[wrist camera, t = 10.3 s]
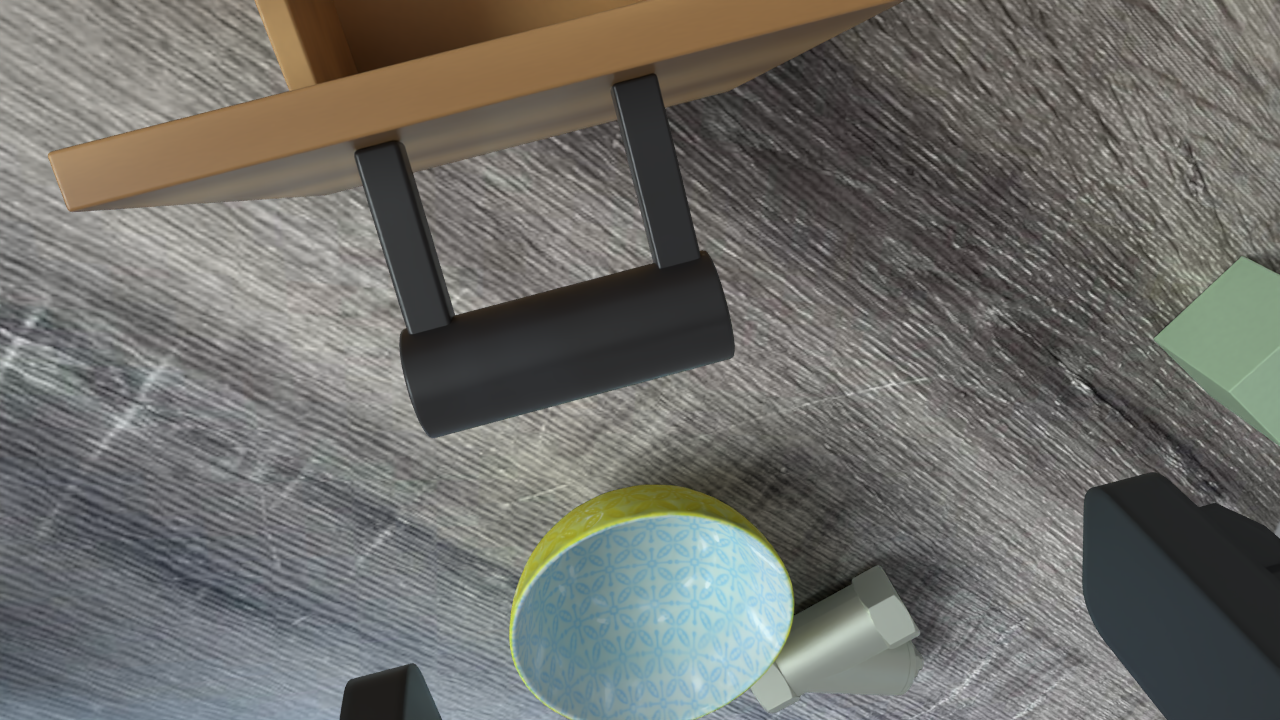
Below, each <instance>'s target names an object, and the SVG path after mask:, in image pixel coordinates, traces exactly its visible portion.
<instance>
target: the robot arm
mask: <svg viewBox="0 0 1280 720" xmlns="http://www.w3.org/2000/svg"><path fill="white" fill-rule="evenodd" d="M1082 585H1083V594H1084V599H1085V603H1086V606H1087V609H1088V612H1089V614H1090V617H1091V619H1092V621H1093V623H1094V625H1095V627H1096V629H1097V631H1098V632H1099V634H1100V636H1101V637H1102V638H1103V640H1104V641H1105V642H1106V644H1107V645H1108V646H1109V647H1110V649H1111V650H1112V651H1113V652H1114V654H1115V655H1116V656H1117V657H1118V659H1119V660H1120V661H1121V663H1122V664H1123V665H1124V666H1125V668H1126V669H1127V670H1128V671H1129V673H1130V674H1131V675H1132V676H1133V678H1134V679H1135V680H1136V681H1137V683H1138V684H1139V685H1140V686H1141V688H1142V689H1143V690H1144V692H1145V693H1146V694H1147V695H1148V697H1149V698H1150V699H1151V700H1152V702H1153V703H1154V704H1155V705H1156V707H1157V708H1158V709H1159V710H1160V712H1161V713H1162V714H1163V715H1164V717H1165V718H1166V719H1167V720H1280V538H1278V537H1277V536H1276V535H1275V534H1274V533H1273V532H1271V531H1270V530H1269V529H1268V528H1267V527H1266V526H1264V525H1262V524H1260V523H1258V522H1256V521H1253V520H1251V519H1249V518H1247V517H1245V516H1243V515H1241V514H1238V513H1236V512H1234V511H1232V510H1230V509H1228V508H1225V507H1223V506H1221V505H1219V504H1217V503H1213V504H1210V505H1206V506H1202V507H1198V506H1197V505H1196V504H1194V503H1193V502H1192V501H1191V500H1190V499H1189V498H1188V497H1187V496H1186V495H1185V494H1183V493H1182V492H1181V491H1180V490H1179V489H1178V488H1177V487H1176V486H1175V485H1174V484H1172V483H1171V482H1170V481H1169V480H1168V479H1167V478H1165V477H1164V476H1162V475H1161V474H1158V473H1155V472H1150V473H1147V474H1143V475H1139V476H1135V477H1131V478H1127V479H1124V480H1120V481H1116V482H1112V483H1108V484H1104V485H1101V486H1097V487H1093V488H1090V489H1089V490H1088V491H1087V493H1086V495H1085V499H1084V522H1083V576H1082ZM340 720H442V718H441V716H440V714H439V712H438V709H437V707H436V705H435V703H434V700H433V698H432V696H431V693H430V691H429V689H428V687H427V684H426V682H425V680H424V677H423V675H422V673H421V671H420V670H419V668H418V667H417V666H416V665H415V664H414V663H412V664H408V665H404V666H400V667H396V668H392V669H388V670H385V671H381V672H377V673H373V674H369V675H366V676H362V677H358V678H354V679H351V680H349V681H348V683H347V684H346V687H345V690H344V695H343V701H342V707H341V714H340Z"/></svg>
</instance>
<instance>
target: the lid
mask: <svg viewBox="0 0 1280 720" xmlns="http://www.w3.org/2000/svg"><path fill="white" fill-rule="evenodd" d="M903 1H905V0H646V1H642V2H638V3H634V4H630V5H627V6H623V7H619V8H615V9H611V10H607V11H603V12H599V13H595V14H591V15H587V16H583V17H579V18H575V19H571V20H567V21H563V22H560V23H556V24H552V25H548V26H544V27H540V28H536V29H532V30H528V31H524V32H520V33H516V34H512V35H508V36H504V37H500V38H497V39H493V40H489V41H485V42H481V43H477V44H473V45H469V46H465V47H461V48H457V49H453V50H449V51H445V52H441V53H437V54H434V55H430V56H426V57H422V58H418V59H414V60H410V61H406V62H402V63H398V64H394V65H390V66H386V67H382V68H378V69H374V70H370V71H367V72H363V73H359V74H355V75H351V76H347V77H343V78H339V79H335V80H331V81H327V82H323V83H319V84H315V85H311V86H307V87H304V88H300V89H296V90H292V91H288V92H284V93H280V94H276V95H272V96H268V97H264V98H260V99H256V100H252V101H248V102H244V103H241V104H237V105H233V106H229V107H225V108H221V109H217V110H213V111H209V112H205V113H201V114H197V115H193V116H189V117H185V118H181V119H177V120H174V121H170V122H166V123H162V124H158V125H154V126H150V127H146V128H142V129H138V130H134V131H130V132H126V133H122V134H118V135H114V136H111V137H107V138H103V139H99V140H95V141H91V142H87V143H83V144H79V145H75V146H71V147H67V148H63V149H59V150H55V151H51V152H50V153H49V154H48V158H49V161H50V163H51V166H52V169H53V171H54V174H55V177H56V180H57V182H58V185H59V188H60V190H61V193H62V196H63V198H64V201H65V204H66V207H67V209H68V210H69V211H70V212H81V211H96V210H111V209H126V208H141V207H156V206H171V205H186V204H201V203H217V202H232V201H247V200H262V199H277V198H292V197H307V196H322V195H329V194H333V193H336V192H340V191H344V190H348V189H352V188H356V187H360V186H363V188H364V191H365V194H366V198H367V201H368V204H369V207H370V211H371V214H372V217H373V220H374V224H375V227H376V230H377V233H378V237H379V240H380V243H381V246H382V250H383V253H384V256H385V259H386V263H387V266H388V269H389V273H390V276H391V279H392V282H393V286H394V289H395V292H396V295H397V299H398V302H399V305H400V308H401V312H402V315H403V318H404V321H405V325H406V329H404V330H402V332H401V334H400V344H399V346H400V357H401V364H402V369H403V374H404V378H405V382H406V386H407V390H408V393H409V396H410V399H411V402H412V405H413V408H414V411H415V413H416V415H417V418H418V420H419V422H420V424H421V426H422V428H423V429H424V431H425V432H426V434H427V435H428V436H429V437H431V438H437V437H440V436H444V435H448V434H451V433H455V432H459V431H463V430H466V429H470V428H474V427H478V426H481V425H485V424H489V423H493V422H496V421H500V420H504V419H507V418H511V417H515V416H519V415H522V414H526V413H530V412H534V411H537V410H541V409H545V408H548V407H552V406H556V405H560V404H563V403H567V402H571V401H575V400H578V399H582V398H586V397H590V396H593V395H597V394H601V393H604V392H608V391H612V390H616V389H619V388H623V387H627V386H631V385H634V384H638V383H642V382H645V381H649V380H653V379H657V378H660V377H664V376H668V375H672V374H675V373H679V372H683V371H687V370H690V369H694V368H698V367H701V366H705V365H709V364H713V363H716V362H720V361H724V360H728V359H731V358H732V357H733V356H734V351H735V345H734V336H733V329H732V324H731V319H730V315H729V310H728V306H727V302H726V299H725V295H724V292H723V288H722V285H721V282H720V279H719V276H718V273H717V270H716V268H715V265H714V263H713V261H712V259H711V257H710V255H709V254H708V253H707V251H703V250H701V251H699V247H698V243H697V238H696V234H695V230H694V226H693V222H692V218H691V214H690V209H689V205H688V201H687V197H686V193H685V189H684V185H683V180H682V176H681V172H680V168H679V164H678V160H677V156H676V151H675V147H674V143H673V139H672V135H671V131H670V127H669V122H668V118H667V114H666V110H665V108H666V107H670V106H674V105H677V104H681V103H685V102H689V101H693V100H697V99H701V98H705V97H708V96H712V95H716V94H720V93H724V92H728V91H730V90H732V89H734V88H736V87H738V86H740V85H742V84H744V83H746V82H748V81H749V80H751V79H753V78H755V77H757V76H759V75H761V74H763V73H765V72H767V71H769V70H771V69H773V68H775V67H777V66H779V65H781V64H782V63H784V62H786V61H788V60H790V59H792V58H794V57H796V56H798V55H800V54H802V53H804V52H806V51H808V50H810V49H812V48H814V47H815V46H817V45H819V44H821V43H823V42H825V41H827V40H829V39H831V38H833V37H835V36H837V35H839V34H841V33H843V32H845V31H847V30H848V29H850V28H852V27H854V26H856V25H858V24H860V23H862V22H864V21H866V20H868V19H870V18H872V17H874V16H876V15H878V14H880V13H881V12H883V11H885V10H887V9H889V8H891V7H893V6H895V5H897V4H899V3H901V2H903ZM615 120H618V124H619V128H620V132H621V136H622V140H623V144H624V148H625V152H626V156H627V160H628V163H629V167H630V171H631V175H632V179H633V183H634V187H635V191H636V195H637V199H638V203H639V207H640V211H641V215H642V219H643V223H644V227H645V231H646V235H647V239H648V243H649V247H650V251H651V255H652V259H653V263H652V264H648V265H645V266H641V267H637V268H633V269H629V270H626V271H622V272H618V273H614V274H610V275H607V276H603V277H599V278H595V279H591V280H588V281H584V282H580V283H576V284H573V285H569V286H565V287H561V288H557V289H554V290H550V291H546V292H542V293H538V294H535V295H531V296H527V297H523V298H519V299H516V300H512V301H508V302H504V303H500V304H497V305H493V306H489V307H485V308H482V309H478V310H474V311H470V312H466V313H463V314H459V315H455V314H454V310H453V307H452V303H451V300H450V297H449V293H448V290H447V287H446V283H445V280H444V276H443V273H442V270H441V266H440V263H439V259H438V256H437V253H436V249H435V246H434V243H433V239H432V236H431V232H430V229H429V226H428V222H427V219H426V216H425V212H424V209H423V205H422V202H421V199H420V195H419V192H418V189H417V185H416V182H415V178H414V175H413V173H414V172H418V171H422V170H426V169H429V168H433V167H437V166H441V165H445V164H449V163H453V162H457V161H460V160H464V159H468V158H472V157H476V156H480V155H484V154H488V153H491V152H495V151H499V150H503V149H507V148H511V147H515V146H519V145H522V144H526V143H530V142H534V141H538V140H542V139H546V138H550V137H553V136H557V135H561V134H565V133H569V132H573V131H577V130H581V129H584V128H588V127H592V126H596V125H600V124H604V123H608V122H612V121H615Z"/></svg>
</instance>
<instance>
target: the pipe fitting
mask: <svg viewBox="0 0 1280 720" xmlns="http://www.w3.org/2000/svg"><path fill="white" fill-rule="evenodd" d="M919 635H920V631H919V629H918V627H917V626H916V624H915V622H914V620H913V619H912V617H911V615H910V614H909V612H908V610H907V608H906V607H905V605H904V603H903V602H902V600H901V598H900V597H899V595H898V593H897V592H896V590H895V588H894V587H893V585H892V583H891V582H890V580H889V578H888V577H887V575H886V573H885V572H884V570H883V568H882V567H881V566H878V565H876V566H875V567H873V568H871V569H869V570H867V571H866V572H864V573H862V574H860V575H858V576H856V577H855V578H853V579H852V584H851V585H849V586H848V587H846V588H844V589H842V590H840V591H838V592H837V593H835V594H833V595H831V596H829V597H827V598H826V599H824V600H822V601H820V602H818V603H817V604H815V605H813V606H811V607H809V608H807V609H806V610H804V611H802V612H800V613H798V614H797V615H795V616H794V617H793V622H792V627H791V630H790V634H789V636H788V638H787V641H786V643H785V645H784V647H783V649H782V651H781V652H780V654H779V655H778V657H777V659H776V660H775V662H774V663H773V664H772V666H771V667H770V668H769V669H768V670H767V672H766V673H765V674H764V675H763V676H762V677H761V678H760V679H759V680H758V681H757V682H756V683H755V684H754V685H753V686H752V687H750V688H751V690H752V692H753V694H754V695H755V697H756V699H757V700H758V702H759V703H760V704H761V706H762V707H763V708H764V709H765V711H766V712H768V713H776V712H778V711H780V710H782V709H784V708H786V707H787V706H789V705H791V704H793V703H795V702H797V701H799V700H800V696H801V695H803V694H804V693H831V694H859V695H887V696H901V695H903V694H905V693H906V692H907V691H908V690H909V689H910V687H911V685H912V683H913V680H914V678H916V677H917V675H918V672H919V671H920V670H922V668H923V663H924V661H923V657H922V655H921V654H920V652H918V651H917V649H916V647H915V646H914V645H913V643H912V641H911V640H912V639H914V638H916V637H917V636H919Z"/></svg>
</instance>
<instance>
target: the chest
mask: <svg viewBox="0 0 1280 720" xmlns="http://www.w3.org/2000/svg"><path fill="white" fill-rule="evenodd" d="M642 1H646V0H255V3H256V6H257V8H258V11H259V13H260V16H261V19H262V21H263V24H264V26H265V29H266V31H267V34H268V37H269V39H270V42H271V44H272V47H273V50H274V52H275V55H276V57H277V60H278V63H279V65H280V68H281V70H282V73H283V75H284V78H285V81H286V83H287V86H288V88H289V91H292V90H296V89H300V88H304V87H307V86H311V85H315V84H319V83H323V82H327V81H331V80H335V79H339V78H343V77H347V76H351V75H355V74H359V73H363V72H367V71H370V70H374V69H378V68H382V67H386V66H390V65H394V64H398V63H402V62H406V61H410V60H414V59H418V58H422V57H426V56H430V55H434V54H437V53H441V52H445V51H449V50H453V49H457V48H461V47H465V46H469V45H473V44H477V43H481V42H485V41H489V40H493V39H497V38H500V37H504V36H508V35H512V34H516V33H520V32H524V31H528V30H532V29H536V28H540V27H544V26H548V25H552V24H556V23H560V22H563V21H567V20H571V19H575V18H579V17H583V16H587V15H591V14H595V13H599V12H603V11H607V10H611V9H615V8H619V7H623V6H627V5H630V4H634V3H638V2H642Z"/></svg>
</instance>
